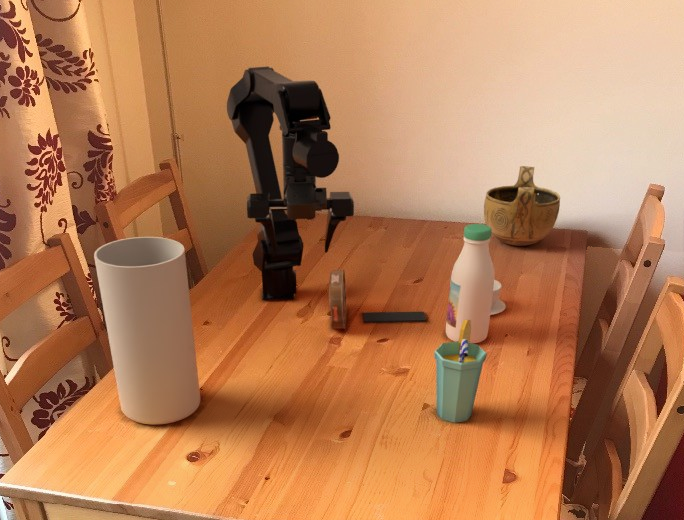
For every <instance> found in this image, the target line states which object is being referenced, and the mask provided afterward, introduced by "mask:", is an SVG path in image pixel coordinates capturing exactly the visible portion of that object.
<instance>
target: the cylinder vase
mask: <svg viewBox="0 0 684 520" xmlns="http://www.w3.org/2000/svg"><path fill="white" fill-rule="evenodd" d="M185 251H186V249H185V247H184V245H183V244H182V243H181V242H179V241H177V240H174V239H172V238H166V237H160V236H159V237H158V236H137V237H128V238H122V239H117V240H114V241H111V242H108V243H106V244H103V245H101V246H99V247H98V248H97V249H96V250H95V251H94V253H93V258H94V263H95V269H96V275H97V280H98V285H99V293H100V297H101V303H102V308H103V309H102V310H103V315H104V320H105V326H106V331H107V337H108V342H109V349H110V354H111V360H112V365H113V366H112V367H113V370H114V377H115V382H116V388H117V394H118V400H119V405H120V409H121V412H122V413H123V414H124V416H125V417H127V418H128V419H129V420H131V421H133V422H136V423H139V424H144V425H153V426H154V425H167V424H172V423H175V422H176V423H177V422H179V421H181V420H184V419H186V418H188V417H189V416H191V415H192V414H194V413H195V412H196V411H197V410H198V408H199V406H200V404H201V392H200V391H201V389H200V381H199V372H198V362H197V353H196V344H195V334H194V325H193V317H192V316H193V315H192V307H191V299H190V298H191V297H190V288H189V277H188V269H187V261H186V260H187V259H186V252H185Z"/></svg>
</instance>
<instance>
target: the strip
mask: <svg viewBox="0 0 684 520" xmlns="http://www.w3.org/2000/svg"><path fill="white" fill-rule="evenodd" d="M361 315H362V321H363V323H364V324H368V323H369V324H375V323H377V324H379V323H426V322H427V318H426V315H425V311H378V312H376V311H374V312H373V311H372V312H371V311H370V312H362V314H361Z"/></svg>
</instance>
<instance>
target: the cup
mask: <svg viewBox="0 0 684 520" xmlns="http://www.w3.org/2000/svg"><path fill="white" fill-rule="evenodd" d="M470 334H471V320H464V321H463V324H462V326H461V329H460V336H459V341H456V342H455V341H450V342H442V343H441V344H440V345H439V346H438V347H437V348H436V349H435V350H434V353H433V355H434V359H435V361H436V362H435V363H436V367H435V368H436V369H435V371H436V415H437V416H438V417H439V418H440V419H441V420H442V421H446V422H449V423H453V424H456V423H463V422H467V421H468V420H469V418H470V417H471V416H472V415H473V410H474V405H475V400H476V395H477V391H478V388H479V384H480V383H479V382H480V379H481V374H482V368H483V365H484V362H486V360H487V356H488V353H487V352H486V351H485V349H483V348H482V347H481V346H480V345H478V344H477V343H469V341H470Z"/></svg>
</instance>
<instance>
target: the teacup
mask: <svg viewBox="0 0 684 520" xmlns="http://www.w3.org/2000/svg"><path fill="white" fill-rule="evenodd" d="M502 287H503V286H502V283H501V282H500V281H498V280H496V279H494V288H493V297H492V305H491V313H490V316H491V315H497V314H499V313H502V312H503V311H504V310H505V309H506V307H507V306H506V303H505V302H504V301H502V300H501V299H499V298H500V295H501V291H502Z"/></svg>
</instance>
